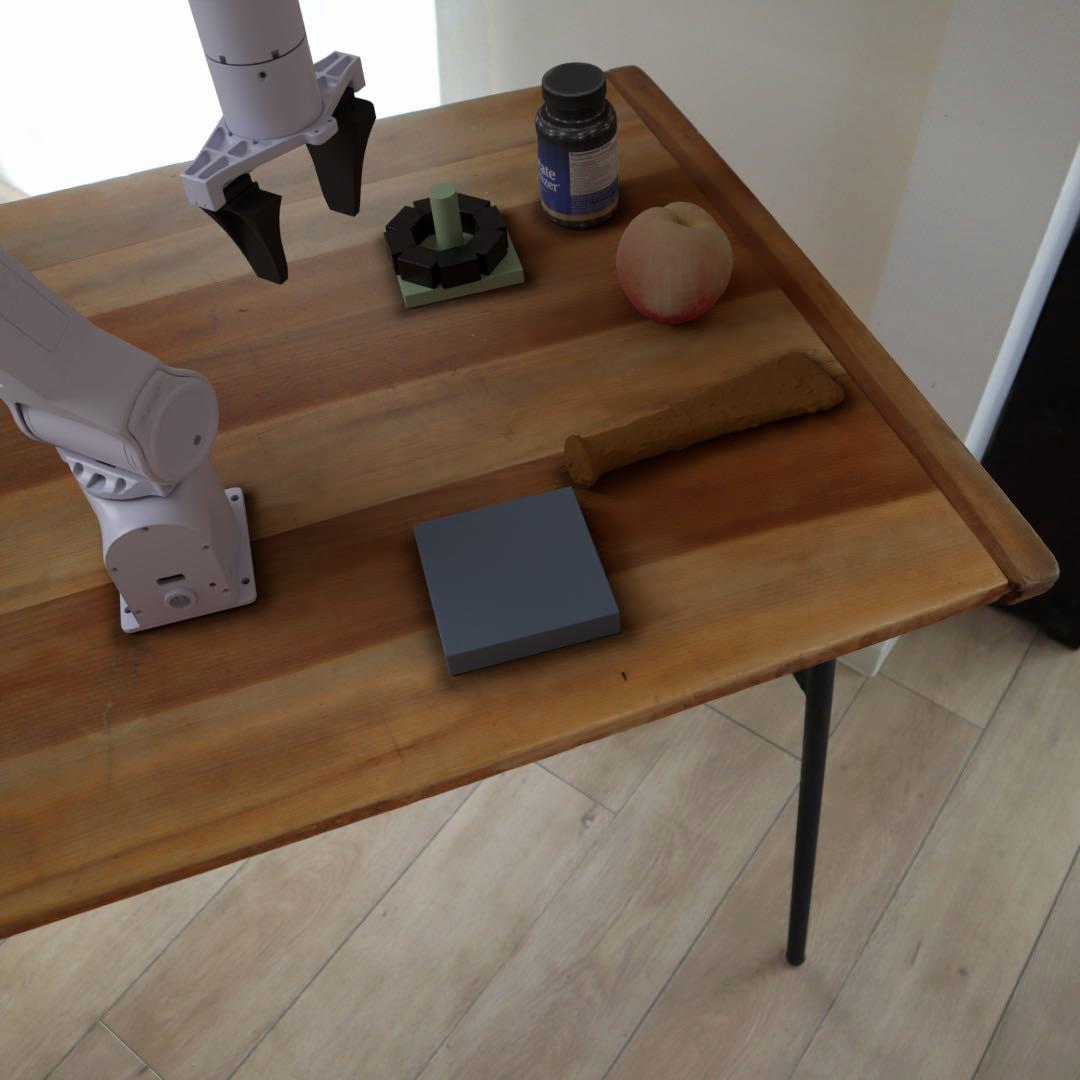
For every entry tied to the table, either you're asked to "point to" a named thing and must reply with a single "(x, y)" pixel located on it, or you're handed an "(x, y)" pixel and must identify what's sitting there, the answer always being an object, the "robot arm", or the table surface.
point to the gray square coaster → (515, 580)
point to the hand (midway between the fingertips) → (309, 243)
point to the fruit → (674, 262)
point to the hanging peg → (452, 236)
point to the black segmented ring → (453, 262)
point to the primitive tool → (707, 416)
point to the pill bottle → (577, 146)
